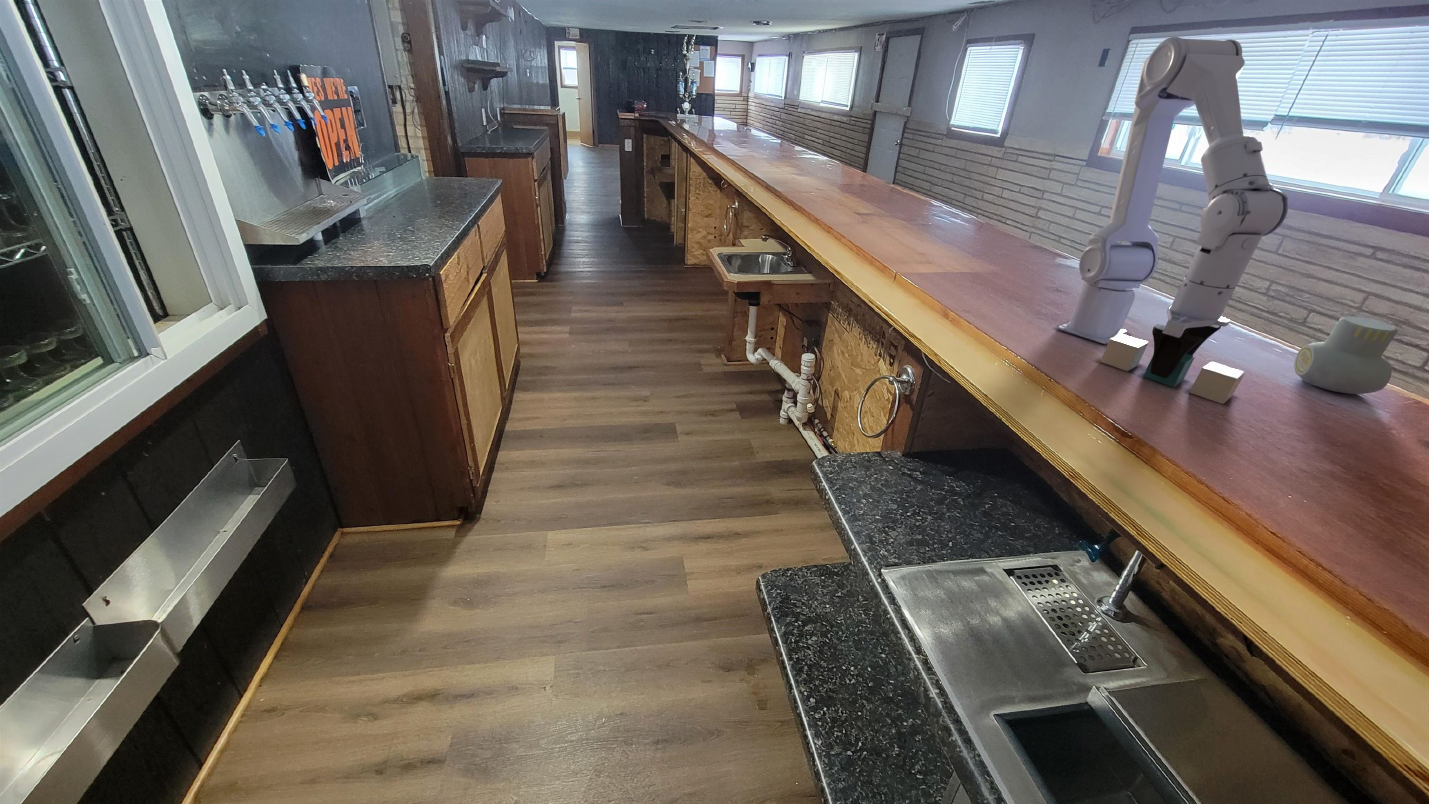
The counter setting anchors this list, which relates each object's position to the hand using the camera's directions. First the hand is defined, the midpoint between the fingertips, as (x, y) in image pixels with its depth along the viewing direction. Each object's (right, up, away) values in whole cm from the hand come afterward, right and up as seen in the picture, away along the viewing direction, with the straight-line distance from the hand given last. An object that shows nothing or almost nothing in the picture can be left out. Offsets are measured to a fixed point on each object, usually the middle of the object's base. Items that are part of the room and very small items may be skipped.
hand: (1166, 370), depth 84 cm
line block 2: (+4, -4, -3) cm, 6 cm away
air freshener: (+25, -2, +1) cm, 25 cm away
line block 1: (-4, +1, +5) cm, 6 cm away
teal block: (0, -1, +1) cm, 1 cm away
